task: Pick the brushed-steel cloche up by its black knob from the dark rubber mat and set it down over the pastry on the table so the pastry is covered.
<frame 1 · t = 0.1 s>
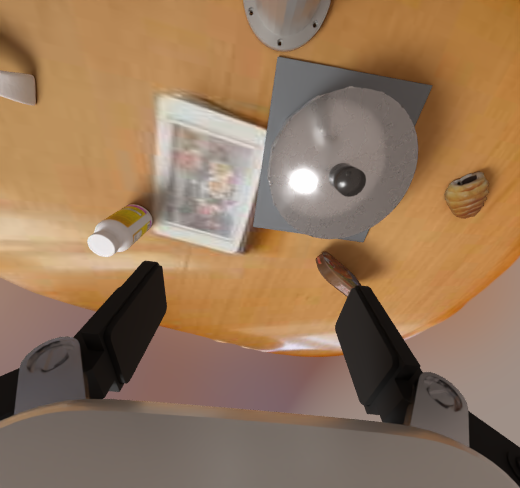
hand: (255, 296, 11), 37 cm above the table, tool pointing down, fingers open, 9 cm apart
tin: (335, 266, 54), on the table
rubber mat: (328, 166, 42), on the table
cloche: (328, 167, 42), resting on rubber mat
supplement bottle: (139, 217, 49), on the table
pastry: (461, 192, 45), on the table
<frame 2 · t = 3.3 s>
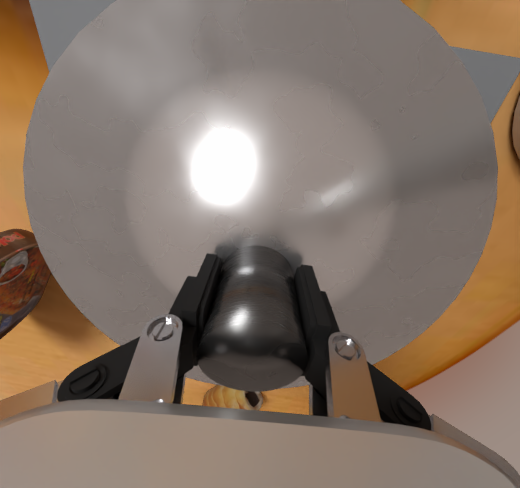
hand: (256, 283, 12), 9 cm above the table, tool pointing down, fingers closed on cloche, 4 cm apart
tin: (36, 268, 23), on the table
rubber mat: (259, 219, 19), on the table
cloche: (259, 221, 19), resting on rubber mat, touching gripper
pastry: (235, 388, 34), on the table
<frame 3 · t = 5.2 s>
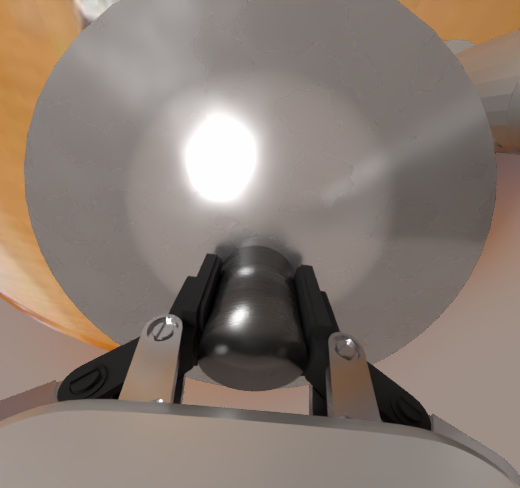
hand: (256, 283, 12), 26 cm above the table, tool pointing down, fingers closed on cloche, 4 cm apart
cloche: (259, 221, 19), point 17 cm above the table, touching gripper
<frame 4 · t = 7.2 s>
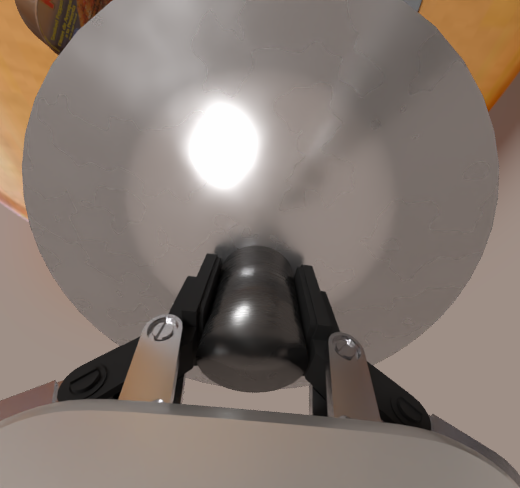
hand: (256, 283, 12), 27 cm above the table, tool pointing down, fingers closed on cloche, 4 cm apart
cloche: (259, 221, 19), point 19 cm above the table, touching gripper
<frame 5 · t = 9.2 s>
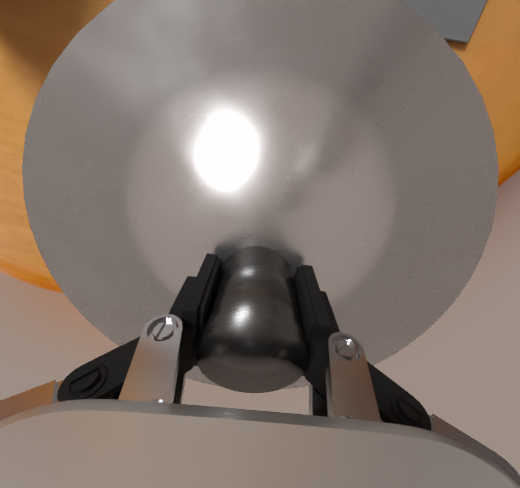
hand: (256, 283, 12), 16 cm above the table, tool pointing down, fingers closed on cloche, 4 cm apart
cloche: (259, 221, 19), point 8 cm above the table, touching gripper
when the fingers open (9 cm above the table, at t = 11.1 s): cloche stays where it is, on the table.
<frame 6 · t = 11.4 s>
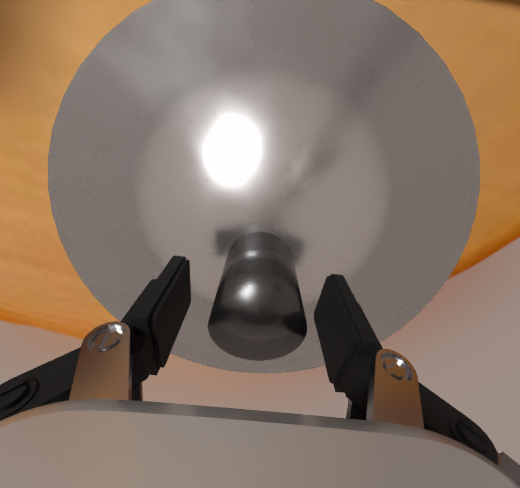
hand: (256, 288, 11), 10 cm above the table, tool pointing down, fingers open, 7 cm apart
cloche: (261, 214, 20), on the table
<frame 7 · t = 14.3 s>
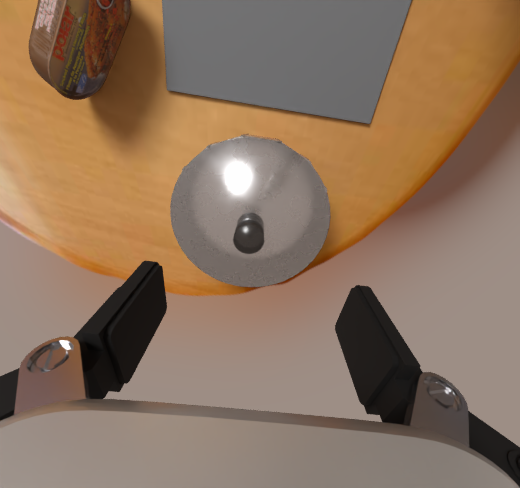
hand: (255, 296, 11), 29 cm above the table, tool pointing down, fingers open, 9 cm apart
tin: (106, 44, 29), on the table
cloche: (252, 208, 39), on the table
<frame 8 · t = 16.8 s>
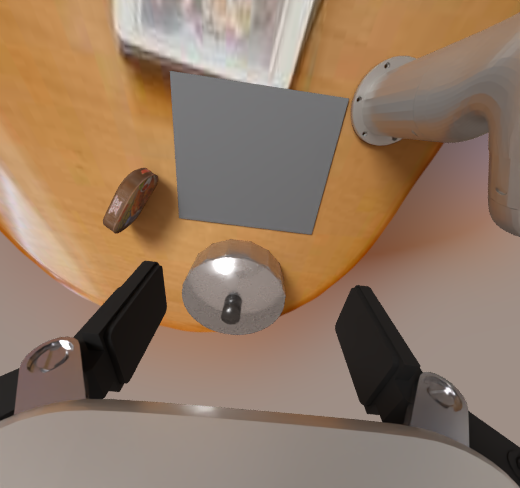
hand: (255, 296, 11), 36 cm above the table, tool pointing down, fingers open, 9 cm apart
tin: (141, 194, 46), on the table
rubber mat: (252, 166, 42), on the table
cloche: (237, 279, 56), on the table
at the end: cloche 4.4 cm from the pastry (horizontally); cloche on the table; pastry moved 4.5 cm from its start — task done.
